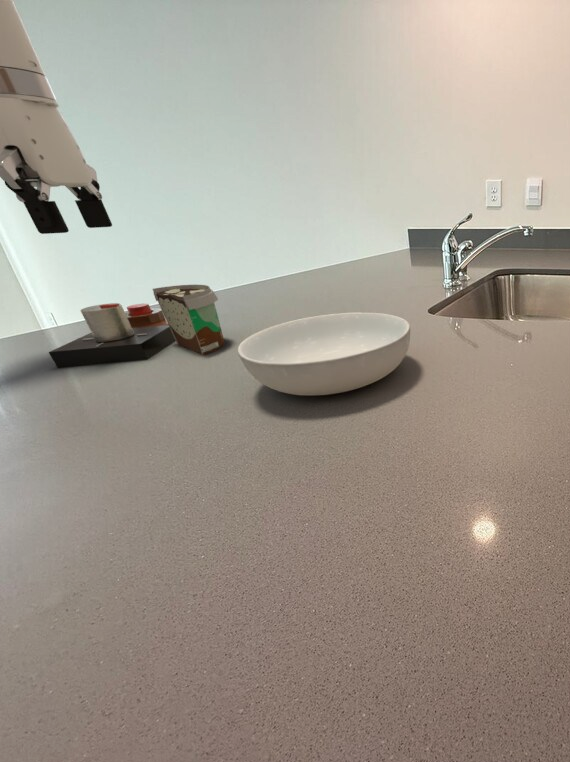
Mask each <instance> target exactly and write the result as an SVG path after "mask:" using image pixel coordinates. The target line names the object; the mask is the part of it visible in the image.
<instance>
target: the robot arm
mask: <svg viewBox="0 0 570 762" xmlns="http://www.w3.org/2000/svg"><path fill="white" fill-rule="evenodd" d="M59 108H60V105H59V103H58V101H57V98H56V96H55V94H54V91H53V89H52V86H51V84H50V81H49V80H48V77H47V74H46V73H45V71H44V68H43V66H42V64H41V61H40V59H39V57H38V55H37V52H36V50H35V48H34V46H33V43H32V40H31V39H30V37H29V33H28V32H27V29H26V27H25V25H24V22H23V20H22V17H21V16H20V14H19V11H18V8H17V7H16V4H15V2H14V0H0V179H1V180H2V181H4V185H5V187H7V189H9V190H10V191H12V192H13V193H14V194H15V196H16V199H17V200H18V201H19V202H20V203H23V205H24V207H25V209H26V211H27V213H28V215H29V216H30V218H31V220H32V223H33V224H34V226H35V229H36V230H37V232H38V233H39V234H41V235H48V234H66V233H68V232H69V231H70V230H69V228H68V226H67V223H66V221H65V219H64V217H63V215H62V213H61V211H60V209H59V207H58V204H57V203H56V201H55V200H50V197H51V195H50V193H51V188H56V187H65V188H66V189H67V190H69V192H70V193H72V194H73V196H75V198H77V199H76V200H74V202H75V204H76V207H77V208H78V211H79V213H80V215H81V217H82V219H83V221H84V223H85V226H86V227H87V228H90V229H96V228H111V227H113V223H112V220H111V219H110V217H109V214H108V211H107V209H106V207H105V205H104V203H103V195H102V193H101V192H100V189H101V188H100V187H101V186H100V183H99V181H98V176H97V170H95V168H94V167H92V166H91V165H90V164H88V163H87V162H86V159H85V157H84V155H83V153H82V151H81V149H80V146H79V144H78V142H77V141H76V139H75V136H74V135H73V133H72V131H71V129H70V127H69V125H68V123H67V122H66V120H65V118H64V117H63V115H62V113H61V111H60V110H59Z"/></svg>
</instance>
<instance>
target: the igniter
mask: <svg viewBox="0 0 570 762" xmlns="http://www.w3.org/2000/svg"><path fill="white" fill-rule="evenodd" d="M151 311H152V312H151V313H148V314H143V315H136V316H130V314H129V312H128V311H127V312H125V314H126V316H127V318H128V320H129V323H130V325H131V327H132V328H143V327H155V326H167V325H168V323H167V320H166V318H165V316H164V314H163V312H162V309H161V308H156V307H155V308H154V307H153V308H151Z"/></svg>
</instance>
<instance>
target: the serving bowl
mask: <svg viewBox="0 0 570 762" xmlns="http://www.w3.org/2000/svg"><path fill="white" fill-rule="evenodd" d="M410 341H411V325H410V323H409V321H407V320H406V319H404V318H402V317H400V316H397V315H394V314H388V313H381V312H379V313H378V312H339V313H329V314H322V315H316V316H315V315H314V316H309V317H303V318H298V319H295V320H290V321H285V322H282V323H278V324H276V325H275V324H274V325H272V326H270V327H268V328H264V329H262V330H259V331H257V332H255V333H253V334H251V335H249V336H248V337H247V338H245V339H243V340H242V342H240V344H239V345H238V347H237V355H238V357H239V359H240V361H241V362H242V364H243V365H244V367H245V369H246V370H247V372H248V373H249V374H250V375H251V376H252V377H253V378H254V379H255V380H256V381H258V382H259V383H260V384H262V385H264V386H265V387H267V388H269V389H272V390H273V391H274V390H275V391H276V392H280V393H285V394H288V395H293V396H294V395H295V396H328V395H335V394H340V393H341V394H342V393H346V392H350V391H354V390H357V389H360V388H363V387H366V386H368V385H371V384H373V383H376V382H378V381H379V380H382V379H383V378H385V377H386V376H388V375H389V374H391V373H392V372H393V371H395V370H396V369H397V367H399V365H400V364H401V363H402V362H403V360H404V359H405V357H406V355H407V353H408V350H409V347H410Z"/></svg>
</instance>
